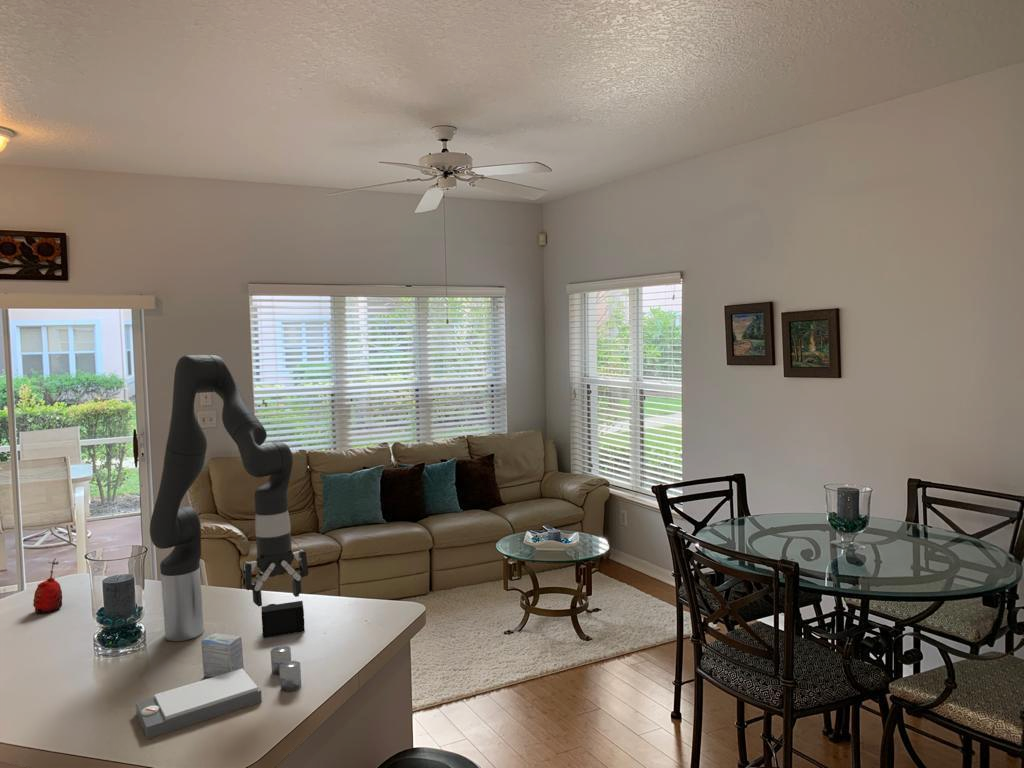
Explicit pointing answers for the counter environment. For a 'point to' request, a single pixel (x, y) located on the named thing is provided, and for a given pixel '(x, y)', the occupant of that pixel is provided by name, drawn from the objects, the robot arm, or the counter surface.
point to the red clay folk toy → (48, 595)
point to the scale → (197, 702)
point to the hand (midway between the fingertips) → (277, 600)
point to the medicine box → (221, 654)
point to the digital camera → (282, 619)
